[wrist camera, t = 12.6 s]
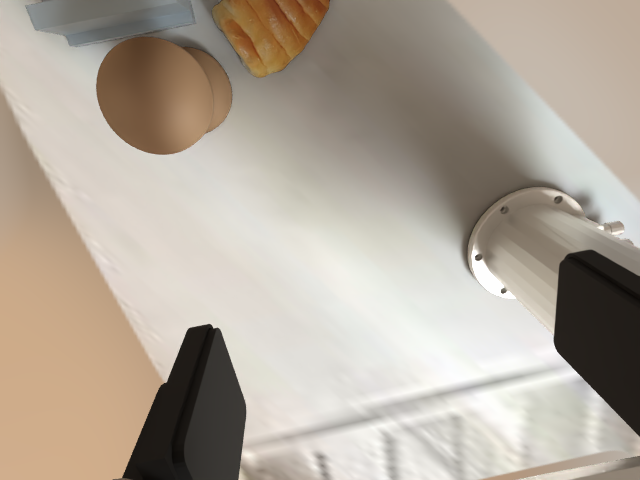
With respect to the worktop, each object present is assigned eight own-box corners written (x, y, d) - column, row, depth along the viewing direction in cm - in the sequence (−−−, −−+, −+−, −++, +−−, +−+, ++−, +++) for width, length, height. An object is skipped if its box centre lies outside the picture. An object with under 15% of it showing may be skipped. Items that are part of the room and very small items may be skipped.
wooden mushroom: (219, 40, 32) (192, 26, 23) (240, 125, 35) (224, 143, 26) (136, 56, 32) (77, 48, 23) (164, 140, 35) (121, 163, 26)
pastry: (298, -65, 30) (300, -82, 27) (347, 16, 33) (354, 9, 29) (207, 16, 32) (197, 9, 29) (260, 87, 34) (257, 89, 31)
